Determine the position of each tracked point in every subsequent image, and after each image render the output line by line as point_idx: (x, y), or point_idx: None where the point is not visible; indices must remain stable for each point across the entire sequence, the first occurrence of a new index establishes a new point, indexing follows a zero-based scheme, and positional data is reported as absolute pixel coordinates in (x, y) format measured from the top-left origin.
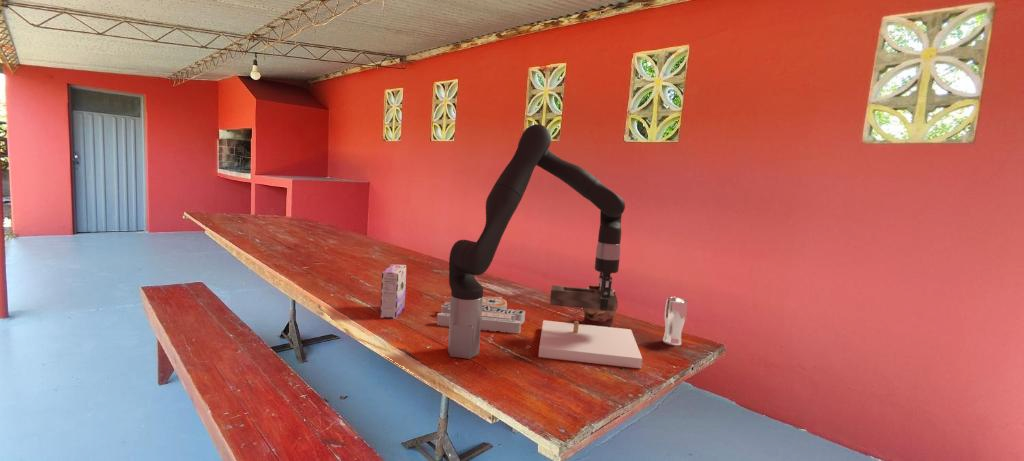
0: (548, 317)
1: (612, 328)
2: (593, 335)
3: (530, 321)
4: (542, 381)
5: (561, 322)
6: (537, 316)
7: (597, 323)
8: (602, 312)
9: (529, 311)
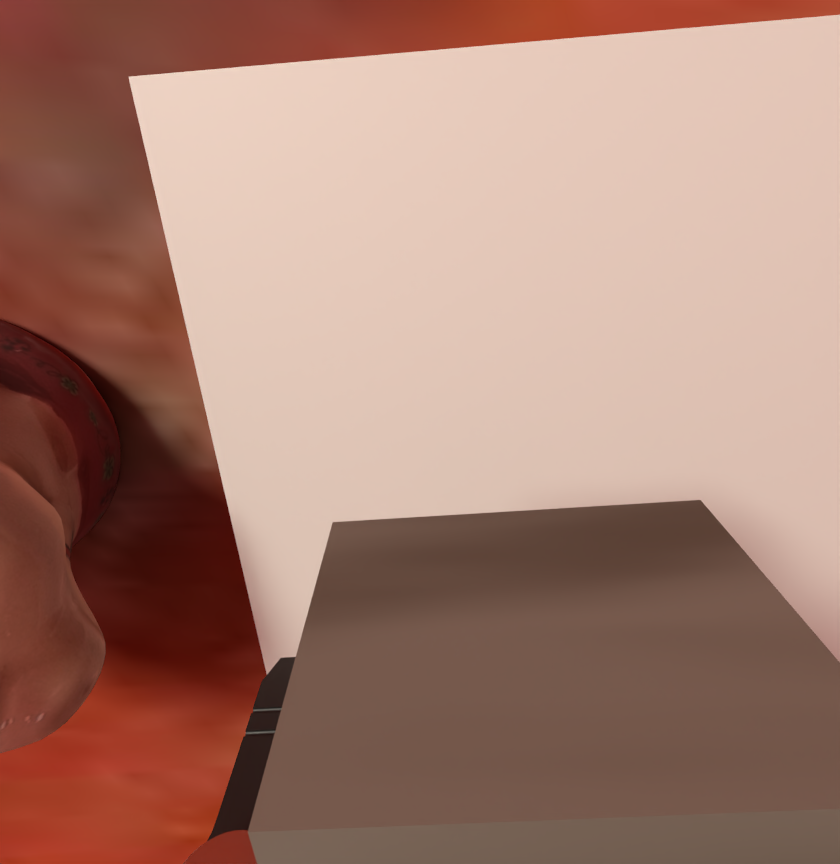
0: (47, 754)
1: (216, 316)
2: (526, 499)
3: (208, 830)
4: None
5: None
6: (75, 808)
7: (95, 458)
8: (32, 488)
9: (2, 851)
